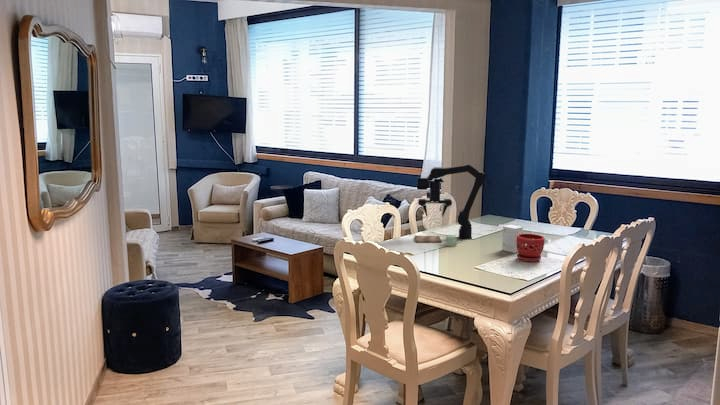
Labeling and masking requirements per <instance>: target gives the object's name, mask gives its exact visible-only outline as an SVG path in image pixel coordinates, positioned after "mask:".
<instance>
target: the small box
mask: <svg viewBox="0 0 720 405" xmlns="http://www.w3.org/2000/svg"><path fill="white" fill-rule="evenodd" d="M523 230H524V229H523V226H520V225H519V226H518V225H514V224H507V225H503V226H502V240H501V242H502V245H501V246H502V247H501V251H505V252H509V253H512V254H513V253H514V254H516V253H517V254H518V250H517V235H518V234H523V232H524V231H523Z"/></svg>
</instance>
